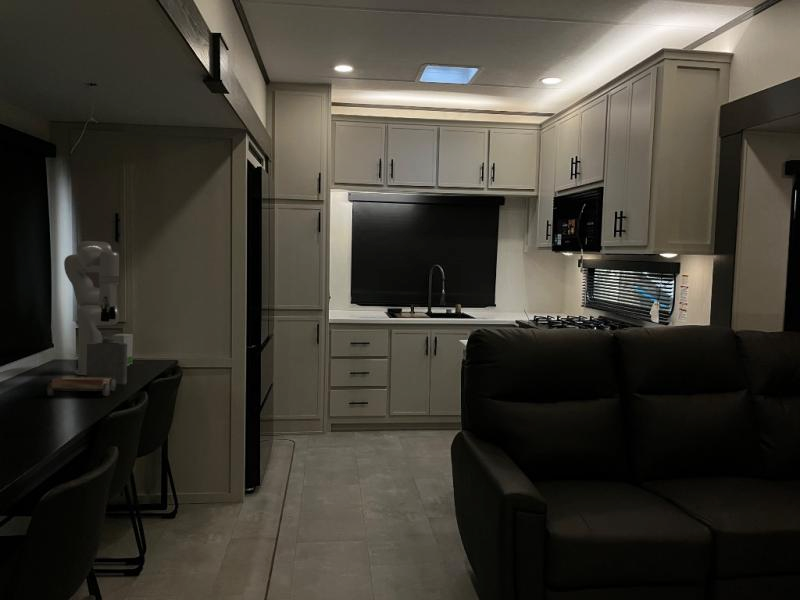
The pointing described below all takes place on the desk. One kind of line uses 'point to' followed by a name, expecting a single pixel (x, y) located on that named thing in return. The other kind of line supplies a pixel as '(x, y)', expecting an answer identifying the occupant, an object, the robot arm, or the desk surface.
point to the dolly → (82, 385)
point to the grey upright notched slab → (107, 360)
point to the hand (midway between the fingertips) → (108, 320)
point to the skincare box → (129, 340)
